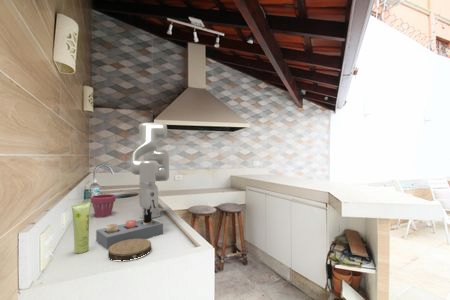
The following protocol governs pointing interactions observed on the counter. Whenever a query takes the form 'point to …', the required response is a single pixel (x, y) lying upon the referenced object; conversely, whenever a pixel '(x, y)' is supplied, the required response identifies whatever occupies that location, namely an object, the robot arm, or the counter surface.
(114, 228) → the knob
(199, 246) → the counter surface
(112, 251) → the wood log slice
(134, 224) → the knob red
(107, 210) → the plant pot
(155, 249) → the counter surface
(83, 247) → the tube
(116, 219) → the counter surface
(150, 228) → the knob panel
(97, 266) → the counter surface
